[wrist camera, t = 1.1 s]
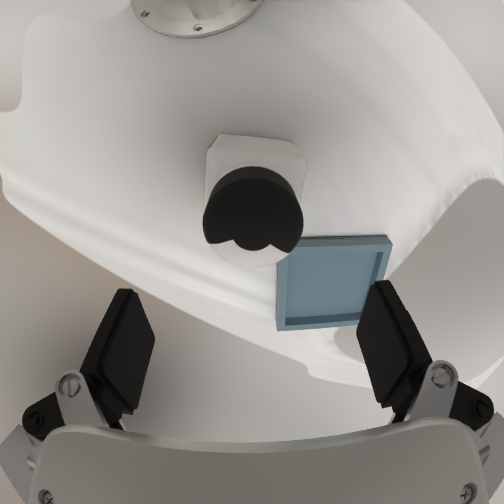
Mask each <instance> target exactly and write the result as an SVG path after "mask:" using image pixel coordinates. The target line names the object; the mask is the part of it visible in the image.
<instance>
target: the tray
mask: <svg viewBox="0 0 504 504" xmlns="http://www.w3.org/2000/svg"><path fill="white" fill-rule="evenodd" d="M392 245H393V244H392V243H391V241H390V240H389V239H388V237H387V236H386V235H373V236H331V237H301V238H300V240H299V242H298V244H297V245H296V247H295V248H294V249H293V250H292V251H291V253H289V254H288V255H287V256H286V257H285V258H283V259H281V260H280V261H278V262H277V304H276V325H277V331H288V330H304V329H317V328H329V327H339V326H349V325H358V324H359V321H360V318H361V314H362V311H363V308H364V305H365V302H366V298H367V295H368V292H369V288H370V286H371V285H373V284H374V282H375V281H380V280H383V278H384V275H385V271H386V268H387V264H388V260H389V257H390V253H391V249H392Z"/></svg>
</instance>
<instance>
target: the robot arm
mask: <svg viewBox="0 0 504 504" xmlns="http://www.w3.org/2000/svg"><path fill="white" fill-rule="evenodd" d="M262 2H263V0H256V1H255V2H251V1H250V0H131V5H132V7H133V10H134V13H135V14H136V16H137V17H138V18H139V20H140V21H141V22H142V23H144V24H145V25H146V26H147V27H149V28H150V29H152V30H154V31H156V32H159V33H161V34H164V35H167V36H172V37H177V38H196V37H205V36H209V35H213V34H217V33H220V32H223V31H225V30H228V29H230V28H232V27H234V26H236V25H238V24H240V23H241V22H243V21H244V20H245V19H247V18H248V17H249V16H251V15H252V14H253V13H254V12H255V11H256V10H257V9H258V8H259V6H260V5H261V3H262ZM149 13H150V14H149ZM147 14H149V15H148V16H147V17H146V15H147ZM198 28H202V30H201V31H200V32H198V31H197V29H198ZM356 334H357V339H358V342H359V344H360V348H361V351H362V354H363V357H364V360H365V364H366V367H367V370H368V373H369V377H370V380H371V383H372V387H373V390H374V394H375V397H376V400H377V402H378V403H381V406H382V408H386V407H390V406H392V409H393V412H394V413H393V415H392V417H391V420H390V421H389V423H388V425H386V426H382V427H377V428H373V429H368V430H362V431H357V432H352V433H347V434H341V435H335V436H328V437H321V438H313V439H304V440H292V441H278V442H252V443H251V442H250V443H237V442H209V441H195V440H184V439H175V438H174V439H173V438H166V437H159V436H153V435H146V434H140V433H134V432H129V431H127V430H126V428H125V426H124V424H123V422H122V420H121V417H122V413H125V414H130V415H133V411H134V409H137V407H138V404H139V399H140V396H141V391H142V388H143V383H144V379H145V376H146V372H147V368H148V365H149V361H150V357H151V353H152V350H153V346H154V343H155V336H154V333H153V331H152V329H151V326H150V324H149V322H148V319H147V317H146V314H145V312H144V309H143V307H142V304H141V302H140V299H139V297H138V294H137V293H136V292H134V291H133V290H132V289H118V290H117V292H116V294H115V296H114V298H113V300H112V302H111V304H110V306H109V308H108V310H107V312H106V314H105V316H104V318H103V320H102V322H101V323H100V326H99V328H98V330H97V332H96V334H95V336H94V339H93V341H92V343H91V345H90V347H89V350H88V352H87V354H86V357H85V359H84V361H83V364H82V366H81V369H80V371H75V370H70V371H66V372H64V373H63V374H61V376H60V377H59V378H58V379H57V381H56V384H55V392H54V393H52V394H51V395H49V396H47V397H45V398H43V399H42V400H40V401H38V402H36V403H35V404H33V405H32V406H30V407H28V408H27V409H26V410H25V412H24V414H23V418H22V423H23V424H22V425H20V424H18V426H16V428H15V429H14V430H13V431H12V432H11V433H10V434H9V435H8V437H7V438H6V439H5V440H4V441H3V442H2V444H0V464H1V466H2V468H3V470H4V471H5V473H6V475H7V476H8V478H9V479H10V481H11V483H12V484H13V486H14V488H15V489H16V491H17V492H18V493H19V495H20V496H21V498H22V499H23V501H24V502H25V503H26V504H489V499H490V498H491V497H492V495H493V494H494V492H495V491H496V489H497V488H498V486H499V485H500V483H501V482H502V480H503V478H504V418H503V417H502V416H501V415H500V414H499V413H498V412H496V413H494V407H493V403H492V401H491V399H490V398H489V397H488V396H487V395H485V394H483V393H481V392H479V391H477V390H475V389H474V388H472V387H470V386H468V385H466V384H464V383H462V382H460V381H458V374H457V371H456V369H455V367H454V366H453V365H452V364H450V363H449V362H447V361H444V360H437V361H434V362H433V361H432V359H431V356H430V354H429V352H428V350H427V348H426V346H425V344H424V341H423V339H422V338H421V335H420V333H419V332H418V330H417V327H416V325H415V323H414V322H413V320H412V318H411V316H410V314H409V312H408V311H407V310H406V309H405V307H404V305H403V303H402V301H401V300H400V298H399V296H398V295H397V292H396V291H395V289H394V287H393V285H392V284H391V282H390V281H389V280H380V281H375V282H374V284H373V285H371V286H370V288H369V292H368V295H367V298H366V302H365V305H364V308H363V311H362V314H361V318H360V321H359V324H358V327H357V331H356Z"/></svg>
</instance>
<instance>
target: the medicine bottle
mask: <svg viewBox="0 0 504 504" xmlns="http://www.w3.org/2000/svg"><path fill="white" fill-rule="evenodd" d="M306 169H307V160H306V158H305V157H304V156H303V154H302V153H301V152H300V151H299V149H298V148H297V147H296V146H295V144H294V143H293V142H291V141H284V140H277V139H269V138H261V137H252V136H242V135H230V134H219V135H218V136H217V137H216V139H215V140H214V141H213V143H212V144H211V146H210V147H209V148H208V150H207V156H206V173H205V193H204V215H203V233H204V235H205V238H206V240H207V242H208V244H209V245H210V247H211V248H212V249H213V251H214V252H215V253H216V254H217V255H219V256H220V257H221V258H223V259H224V260H226V261H228V262H230V263H232V264H235V265H238V266H243V267H263V266H267V265H271V264H273V263H276V262H278V261H280V260H281V259H283V258H285V257H286V256H287V255H288V254H289V253H291V251H292V250H293V249H294V248H295V247H296V245H297V244H298V242H299V240H300V238H301V235H302V232H303V214H302V210H301V208H300V205H299V204H300V199H301V194H302V189H303V184H304V179H305V174H306Z"/></svg>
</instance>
